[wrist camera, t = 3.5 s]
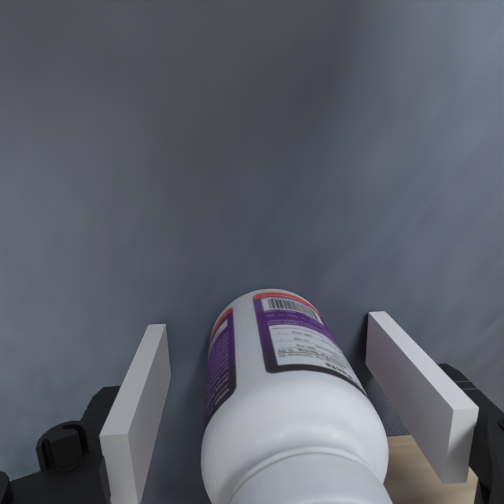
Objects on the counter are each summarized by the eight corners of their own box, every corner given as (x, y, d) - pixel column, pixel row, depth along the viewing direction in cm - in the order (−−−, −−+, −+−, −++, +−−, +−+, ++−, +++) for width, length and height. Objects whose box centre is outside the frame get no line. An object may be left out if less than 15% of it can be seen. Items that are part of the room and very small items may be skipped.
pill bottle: (247, 407, 18) (269, 691, 9) (187, 322, 16) (135, 553, 7) (345, 355, 17) (481, 594, 8) (292, 263, 16) (383, 425, 7)
